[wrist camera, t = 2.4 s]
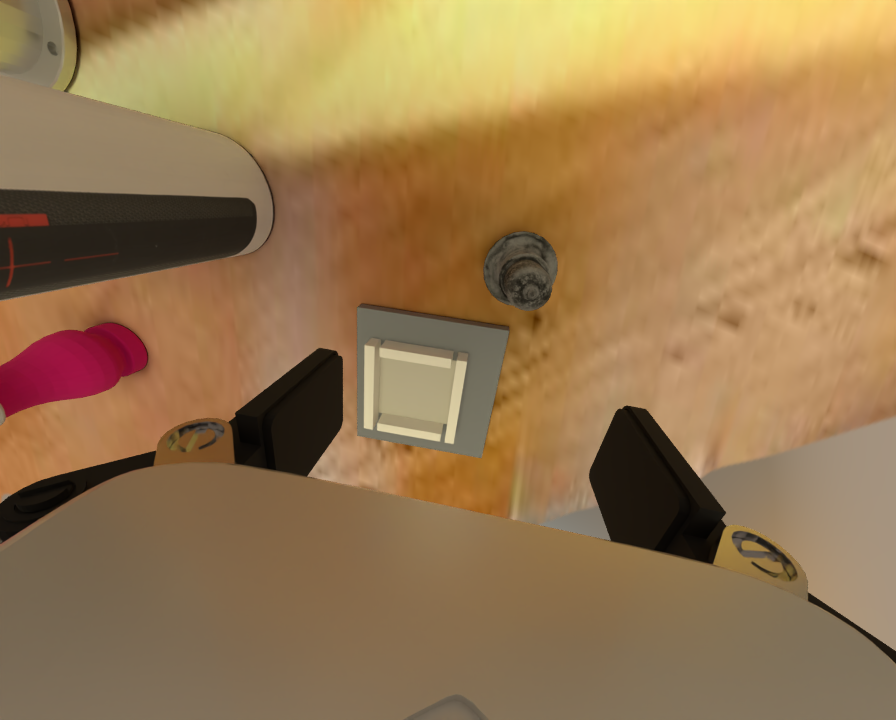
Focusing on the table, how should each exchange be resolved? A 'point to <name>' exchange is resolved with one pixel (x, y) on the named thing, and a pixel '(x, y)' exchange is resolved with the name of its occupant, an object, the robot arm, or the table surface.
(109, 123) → the speaker
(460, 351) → the socket board
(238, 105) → the table surface
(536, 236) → the salt shaker
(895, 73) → the table surface
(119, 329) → the pepper mill
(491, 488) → the table surface
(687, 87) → the table surface
